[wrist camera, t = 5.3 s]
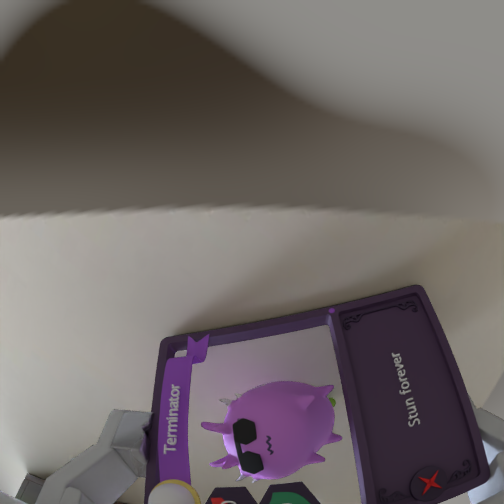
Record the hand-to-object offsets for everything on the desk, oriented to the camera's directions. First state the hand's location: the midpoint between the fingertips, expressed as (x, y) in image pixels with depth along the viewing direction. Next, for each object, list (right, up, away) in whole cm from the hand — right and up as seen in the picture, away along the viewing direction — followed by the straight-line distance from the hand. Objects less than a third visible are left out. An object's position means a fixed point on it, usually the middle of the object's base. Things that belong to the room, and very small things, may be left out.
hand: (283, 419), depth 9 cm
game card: (+1, +1, +3) cm, 3 cm away
